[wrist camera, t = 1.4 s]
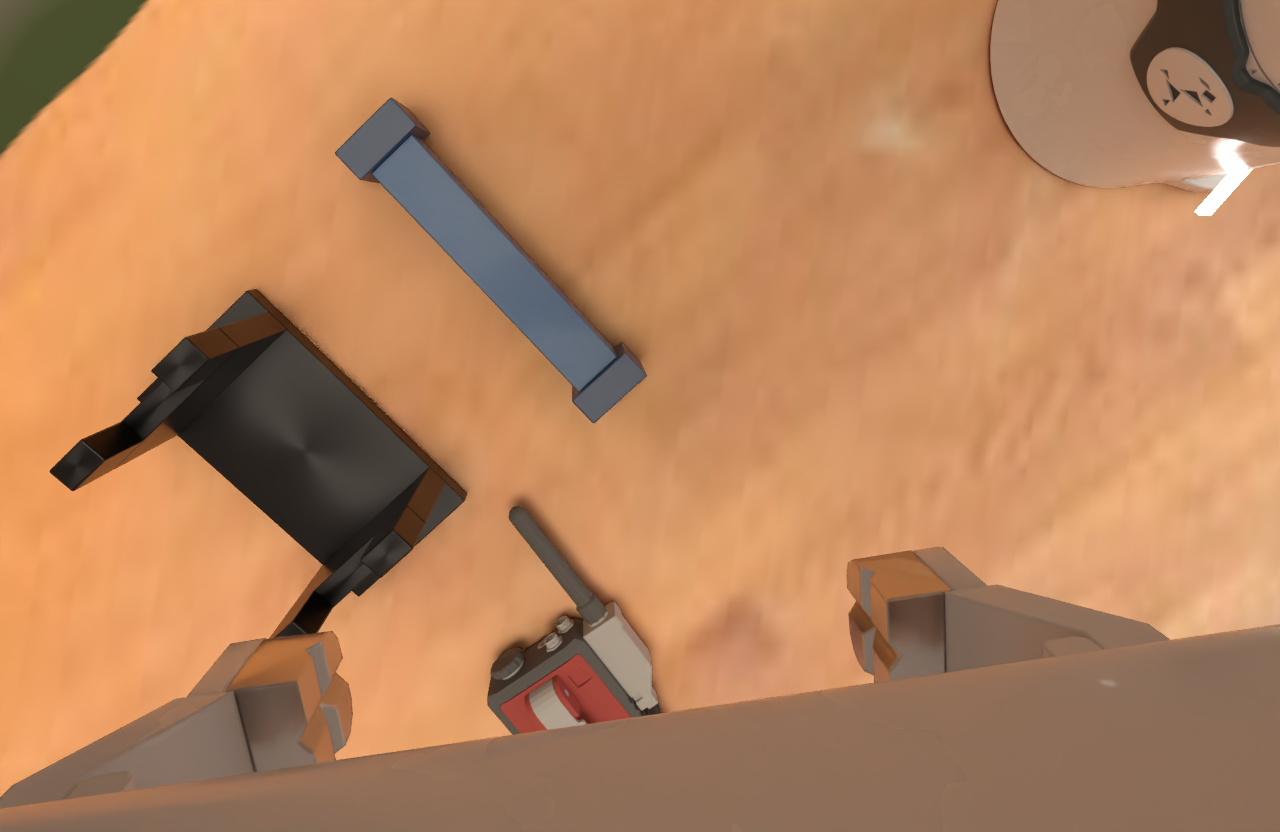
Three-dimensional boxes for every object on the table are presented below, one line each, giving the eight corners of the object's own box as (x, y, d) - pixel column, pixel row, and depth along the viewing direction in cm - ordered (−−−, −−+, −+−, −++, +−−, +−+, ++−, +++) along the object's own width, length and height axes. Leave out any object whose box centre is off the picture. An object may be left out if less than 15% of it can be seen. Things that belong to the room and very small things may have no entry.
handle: (406, 107, 40) (390, 96, 37) (641, 363, 44) (647, 375, 40) (354, 158, 40) (333, 152, 37) (592, 408, 44) (593, 424, 41)
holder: (256, 288, 42) (156, 309, 32) (467, 493, 45) (437, 570, 35) (148, 393, 42) (18, 446, 32) (364, 587, 46) (305, 689, 36)
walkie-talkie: (727, 744, 50) (530, 488, 45) (741, 793, 46) (525, 517, 41) (608, 821, 50) (402, 577, 46) (611, 876, 46) (384, 614, 41)
